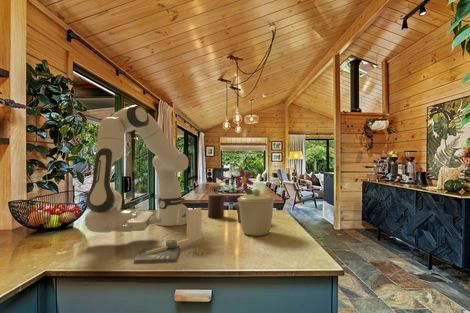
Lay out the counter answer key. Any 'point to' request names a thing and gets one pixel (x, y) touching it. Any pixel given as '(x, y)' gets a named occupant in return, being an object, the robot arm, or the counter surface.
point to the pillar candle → (215, 205)
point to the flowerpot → (245, 182)
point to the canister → (256, 213)
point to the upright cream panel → (192, 230)
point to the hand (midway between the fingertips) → (161, 220)
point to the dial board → (157, 255)
